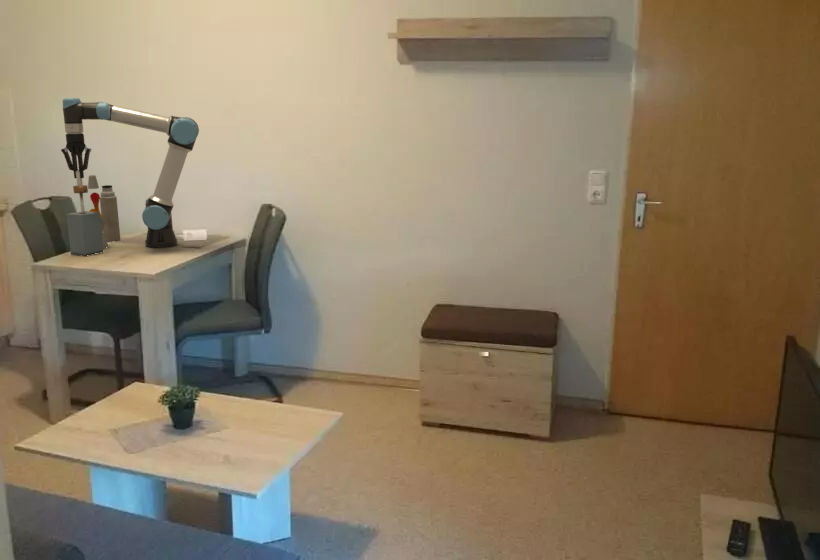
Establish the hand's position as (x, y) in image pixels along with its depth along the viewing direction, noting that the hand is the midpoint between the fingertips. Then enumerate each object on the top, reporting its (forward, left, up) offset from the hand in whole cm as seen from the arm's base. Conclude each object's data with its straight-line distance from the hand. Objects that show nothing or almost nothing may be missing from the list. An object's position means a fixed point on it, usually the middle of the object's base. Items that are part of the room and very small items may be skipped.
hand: (80, 185), depth 353 cm
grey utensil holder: (0, 0, -32) cm, 32 cm away
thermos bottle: (+16, -29, -32) cm, 46 cm away
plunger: (0, 0, -22) cm, 22 cm away
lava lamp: (+6, -13, -32) cm, 35 cm away
